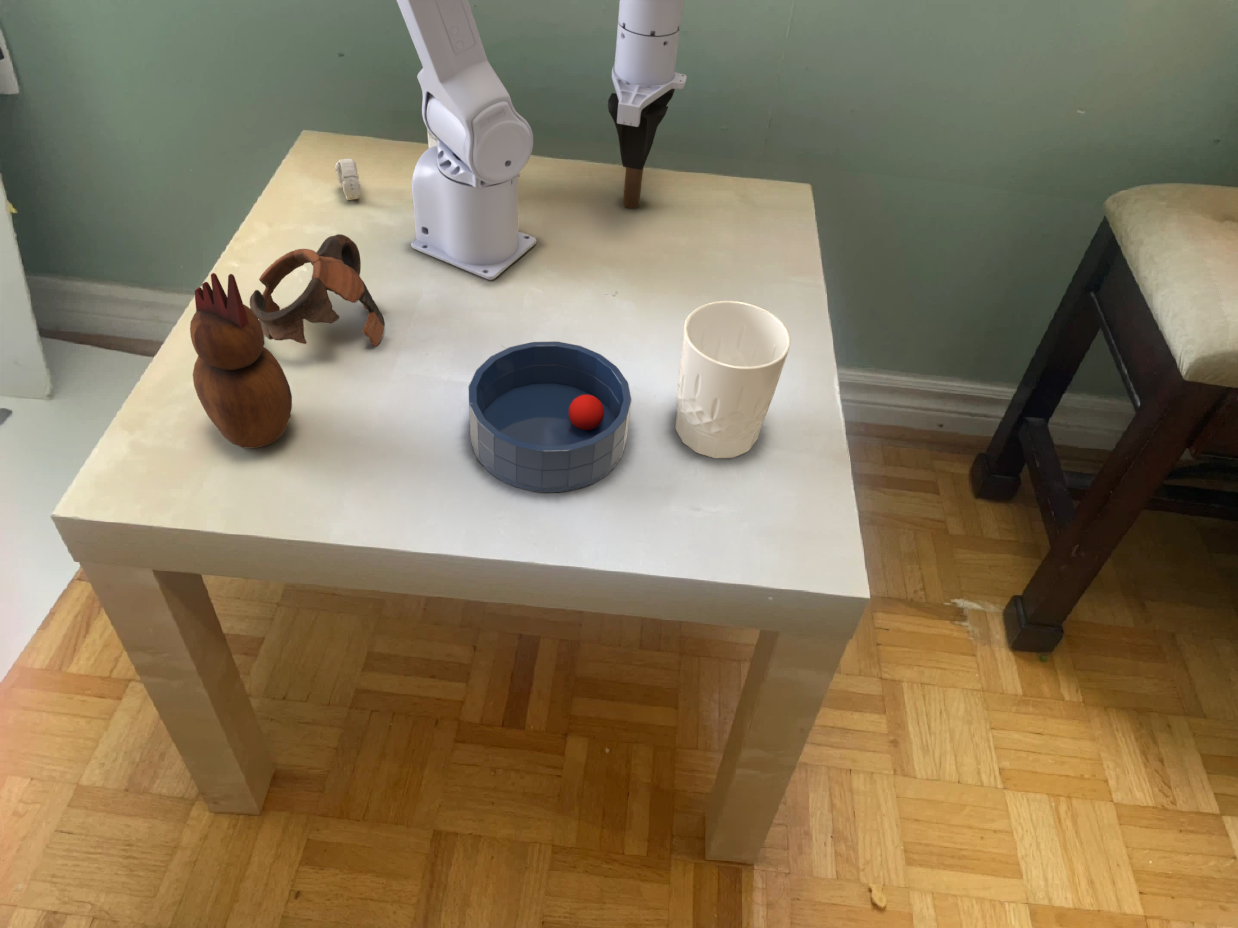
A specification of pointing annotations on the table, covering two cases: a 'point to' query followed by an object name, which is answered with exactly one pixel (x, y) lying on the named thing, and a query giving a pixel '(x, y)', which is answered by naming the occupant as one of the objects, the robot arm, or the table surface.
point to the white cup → (728, 376)
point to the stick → (632, 187)
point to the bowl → (547, 416)
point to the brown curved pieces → (316, 291)
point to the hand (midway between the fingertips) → (635, 161)
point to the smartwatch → (348, 178)
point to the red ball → (586, 412)
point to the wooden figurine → (237, 369)
